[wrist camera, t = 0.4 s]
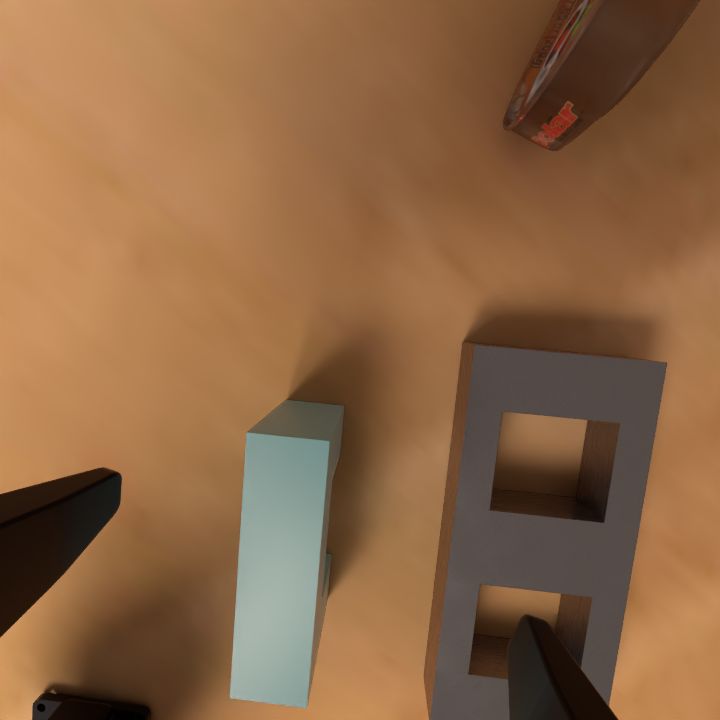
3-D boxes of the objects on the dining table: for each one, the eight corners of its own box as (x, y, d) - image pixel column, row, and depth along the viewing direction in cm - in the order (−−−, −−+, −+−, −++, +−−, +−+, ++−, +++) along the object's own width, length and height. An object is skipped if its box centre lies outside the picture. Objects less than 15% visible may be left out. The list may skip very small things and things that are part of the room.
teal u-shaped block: (327, 598, 21) (307, 708, 15) (272, 591, 21) (229, 698, 15) (344, 405, 20) (329, 441, 14) (286, 399, 20) (246, 432, 14)
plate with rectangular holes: (575, 695, 21) (601, 746, 18) (423, 676, 21) (429, 723, 19) (629, 357, 19) (667, 362, 16) (462, 342, 19) (474, 344, 17)
